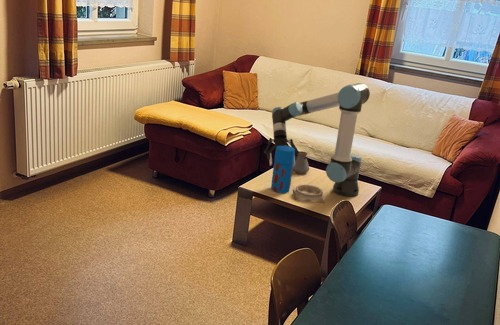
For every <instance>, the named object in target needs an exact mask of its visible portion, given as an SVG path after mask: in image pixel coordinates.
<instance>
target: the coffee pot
mask: <svg viewBox="0 0 500 325" xmlns="http://www.w3.org/2000/svg"><path fill="white" fill-rule="evenodd" d="M298 151H299V150H298ZM307 155H308V152H305V151H299V154H298V155H297V156H296V161H295V166H293V169H292V171H293V172H294V173H296V174H299V175H303V174H306V173H308V172H309V170H310V166H309V162H308V161H309V159H310V158H309V157H308V156H307Z"/></svg>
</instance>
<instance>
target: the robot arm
mask: <svg viewBox="0 0 500 325" xmlns="http://www.w3.org/2000/svg"><path fill="white" fill-rule="evenodd" d="M370 92H371V91H370V89H369V87H368V86H367V85H366V84H364V83H359V82H358V83H353V84H347V85H346V86H343V87H342V88H341V89H340V90H339V91H338V92H336V93H332V94H331V93H330V94H328V95H325V96H321V97H316V98H313V99H310V100H305V101H300V102H298V101H296V102H293V103H290V104H288V105H286V106H285V107H281V106H277V107H273V109H272V110H271V118H272V119H271V120H272V131H273V138H271V137H269V139H268V143H267V146H266V147H265V150H264V151H263V154H265V155H266V156H267V160H269V166H272V165H273V158H272V152H273V150H275V149H276V147H277V146H289V147H292V148H294V149H295V155H294V162H293V166H295V161H296V158H297V156H298V154H299V150H298V148H297V147H296V145H295V143H294V141H293V139H292V138H290V139H288V138H287V136H288V134H287V123H286V122H288V121H290V120H291V119H293V118H297V117H300V116H303V115H309V114H311V113H312V114H313V113H315V112H321V111H324V110H328V109H333V108H336V107H338V110H340V117H339V125H338V131H337V137H336V142H335V149H334V154H332V155H331V157H330V160H329V161H330V162H329V164H328V165H327V166H326V168H325V173H326V177H328V179H329V180H330V181H332V182H333V185H332V191H333V193H335V194H338V195H341V196H343V197H344V196H345V197H356V196H358V195H359V192H360V188H359V187H360V186H359V181H358V180H359V175H360V170H361V164H362V157H361V156H359V155H357V154H355V153H351V152H352V148H353V147H352V146H353V140H354V135H355V130H356V123H357V120H358V119H357V118H358V114H360V113H361V112H362V107H363V105H364V104H365V103H367V102H368V100H369V99H370V95H371V93H370ZM272 143H274V144H273V145H272V146H271V144H272ZM270 146H271V148H270ZM269 148H270V149H269ZM268 149H269V150H268Z"/></svg>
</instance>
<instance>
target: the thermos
mask: <svg viewBox="0 0 500 325" xmlns="http://www.w3.org/2000/svg"><path fill="white" fill-rule="evenodd" d="M289 146H290V145H289ZM289 146H276V147H275V154H274V160H273V169H272V177H271V186H270V188H271V191H272V192H275V193H278V194H286V193H287V194H288V193H289V192H290V190H291V182H292V176H293V162H294V155H295V149H294V148H292V147H291V146H290V147H289Z"/></svg>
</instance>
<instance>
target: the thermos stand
mask: <svg viewBox="0 0 500 325" xmlns="http://www.w3.org/2000/svg"><path fill="white" fill-rule="evenodd" d="M293 193H294V200H295V201H301V202H312V203H318V204H319V203H322V204H324V203H325V199H324V196H323V194H324V191H323V189H321V188H320V187H319V186H316V185H313V184H299V185H297V186H296V187H294V188H293Z"/></svg>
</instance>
